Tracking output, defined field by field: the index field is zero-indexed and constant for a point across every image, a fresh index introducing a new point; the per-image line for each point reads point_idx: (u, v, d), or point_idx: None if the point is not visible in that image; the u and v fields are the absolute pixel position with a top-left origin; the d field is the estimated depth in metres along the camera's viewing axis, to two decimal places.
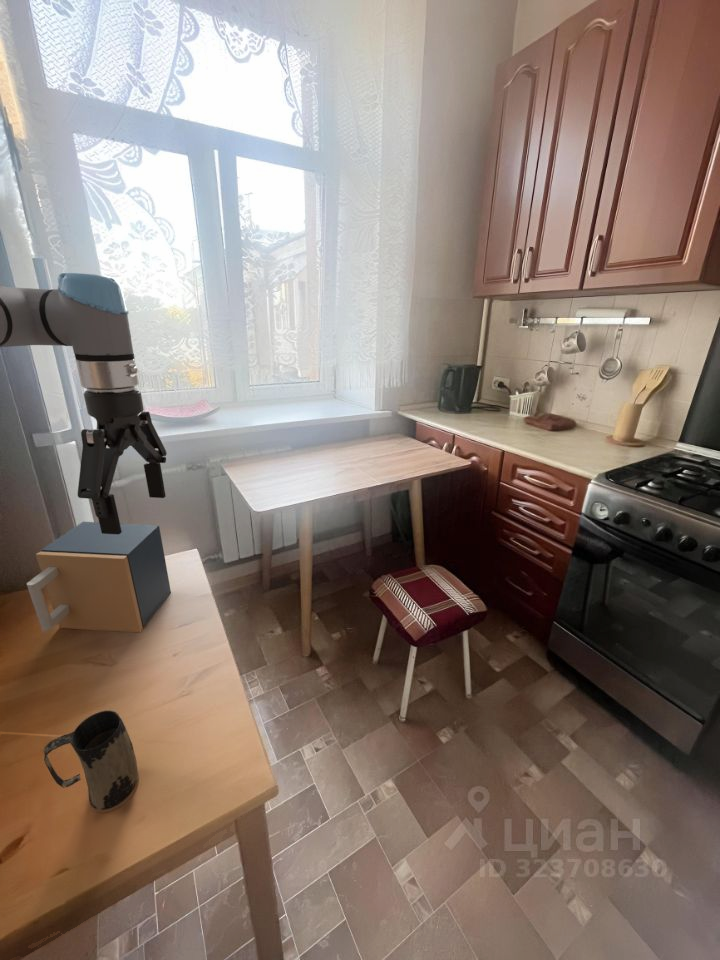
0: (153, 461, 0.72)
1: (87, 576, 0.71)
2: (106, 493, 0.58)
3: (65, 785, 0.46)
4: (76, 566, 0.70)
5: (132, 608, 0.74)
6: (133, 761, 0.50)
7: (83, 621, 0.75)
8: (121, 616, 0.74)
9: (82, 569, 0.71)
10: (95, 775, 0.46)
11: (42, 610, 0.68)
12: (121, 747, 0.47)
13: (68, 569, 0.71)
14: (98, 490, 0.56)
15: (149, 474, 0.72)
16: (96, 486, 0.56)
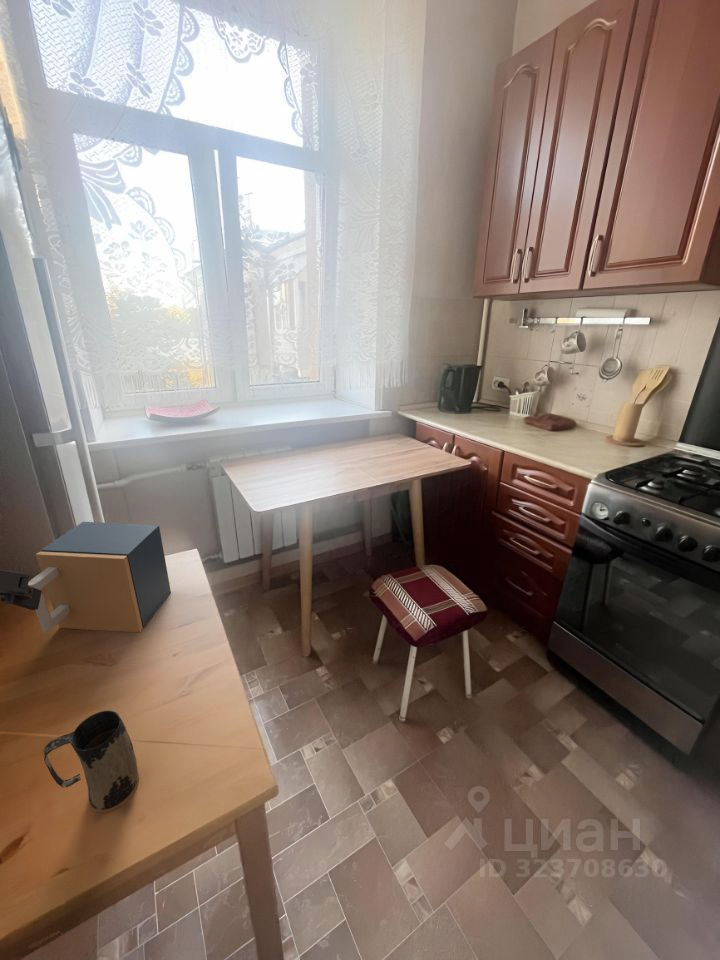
0: None
1: (87, 576, 0.71)
2: None
3: (65, 785, 0.46)
4: (76, 566, 0.70)
5: (132, 608, 0.74)
6: (133, 761, 0.50)
7: (83, 621, 0.75)
8: (121, 616, 0.74)
9: (82, 569, 0.71)
10: (95, 775, 0.46)
11: (42, 610, 0.68)
12: (121, 747, 0.47)
13: (68, 569, 0.71)
14: None
15: None
16: None
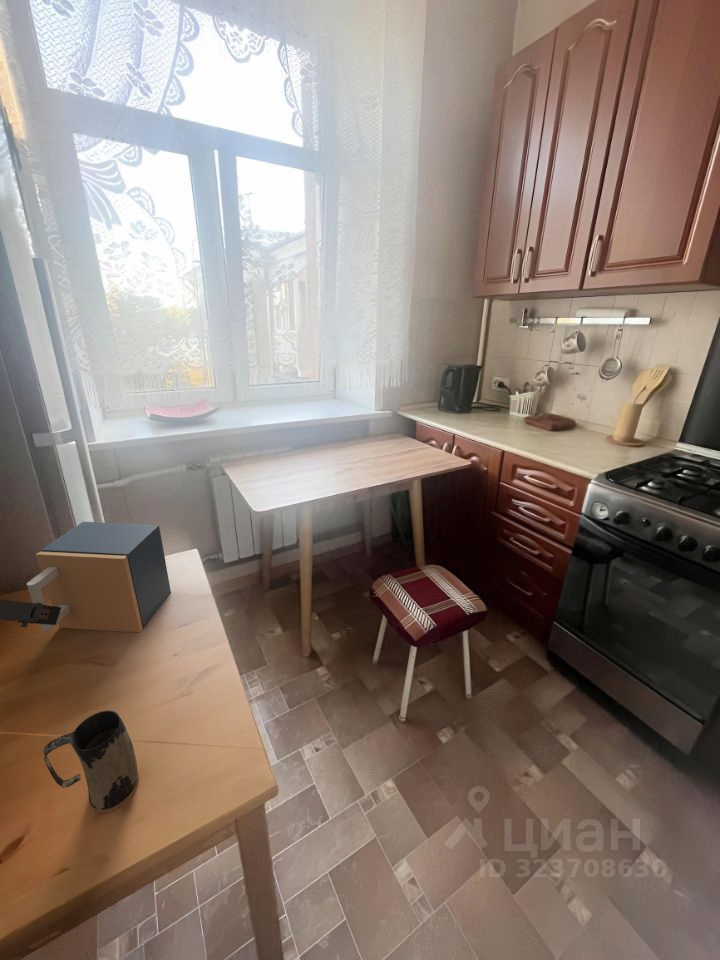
0: None
1: (87, 576, 0.71)
2: None
3: (65, 785, 0.46)
4: (76, 566, 0.70)
5: (132, 608, 0.74)
6: (133, 761, 0.50)
7: (83, 621, 0.75)
8: (121, 616, 0.74)
9: (82, 569, 0.71)
10: (95, 775, 0.46)
11: None
12: (121, 747, 0.47)
13: (68, 569, 0.71)
14: None
15: None
16: None
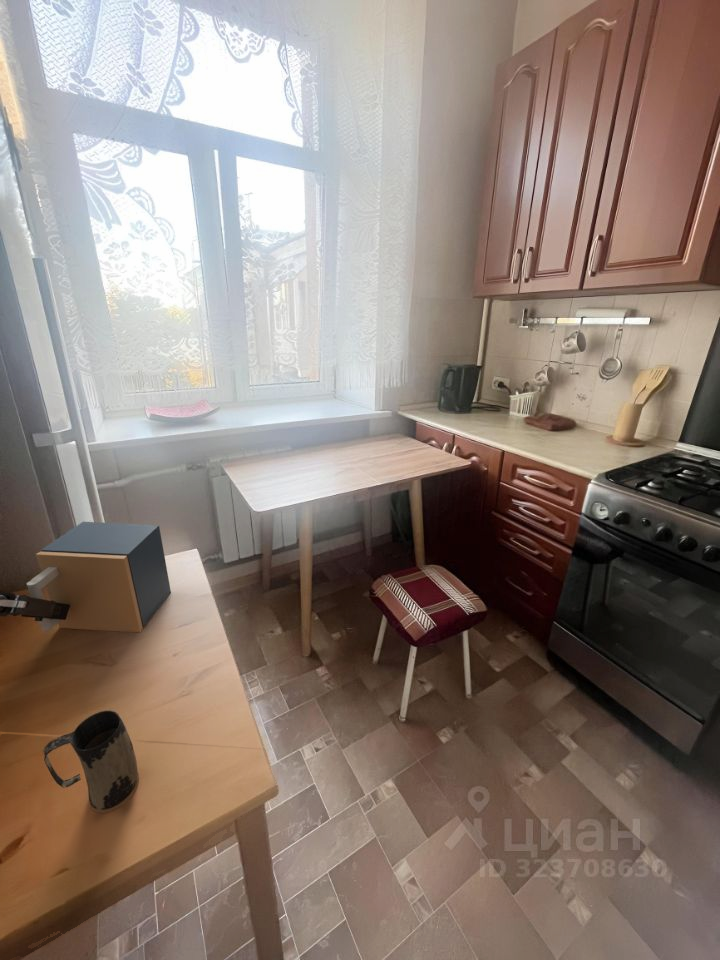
0: None
1: (87, 576, 0.71)
2: (13, 615, 0.66)
3: (65, 785, 0.46)
4: (76, 566, 0.70)
5: (132, 608, 0.74)
6: (133, 761, 0.50)
7: (83, 621, 0.75)
8: (121, 616, 0.74)
9: (82, 569, 0.71)
10: (95, 775, 0.46)
11: None
12: (121, 747, 0.47)
13: (68, 569, 0.71)
14: None
15: None
16: None
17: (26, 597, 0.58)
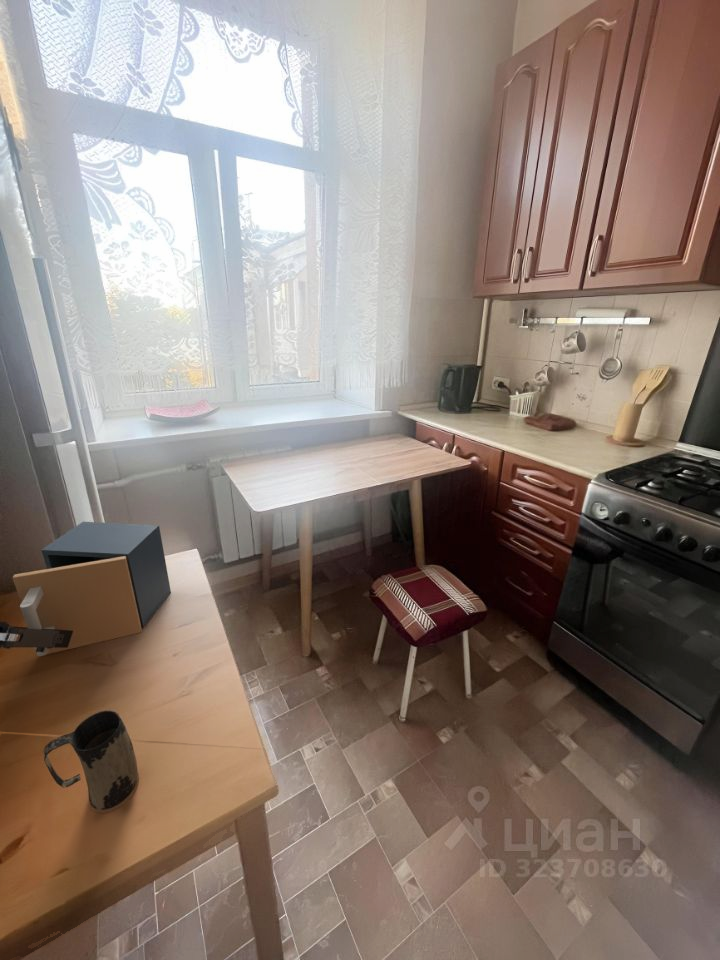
0: None
1: (79, 587, 0.68)
2: None
3: (65, 785, 0.46)
4: (67, 579, 0.67)
5: (133, 609, 0.73)
6: (133, 761, 0.50)
7: (72, 639, 0.71)
8: (120, 621, 0.73)
9: (74, 581, 0.67)
10: (95, 775, 0.46)
11: None
12: (121, 747, 0.47)
13: (55, 585, 0.67)
14: None
15: None
16: None
17: (17, 629, 0.52)
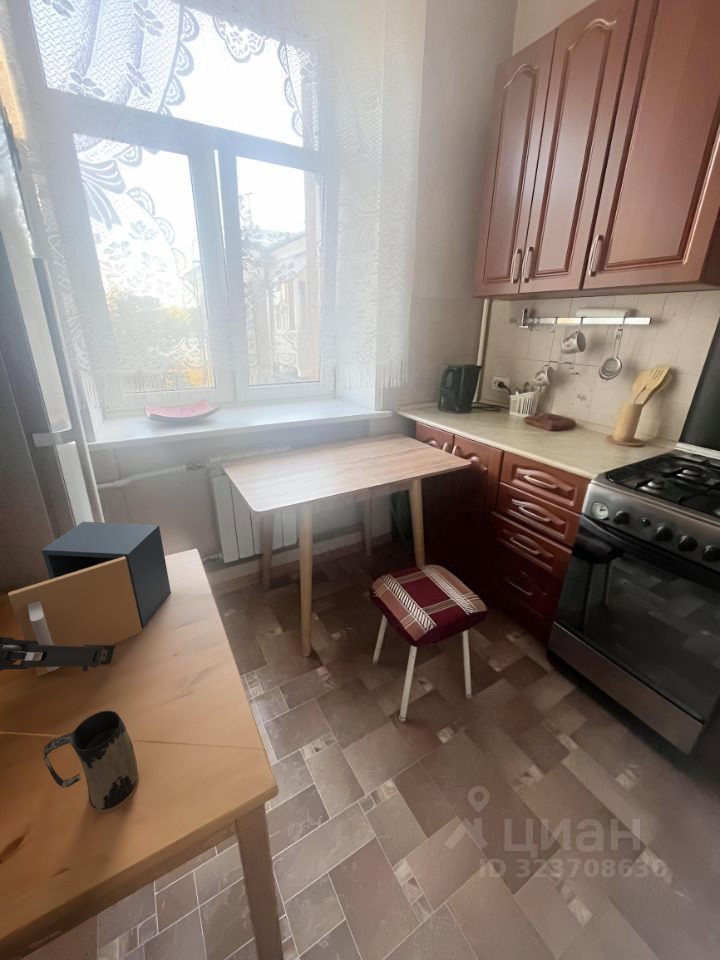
0: None
1: (80, 595, 0.66)
2: None
3: (65, 785, 0.46)
4: (67, 588, 0.65)
5: (134, 609, 0.73)
6: (133, 761, 0.50)
7: None
8: (122, 624, 0.73)
9: (75, 589, 0.65)
10: (95, 775, 0.46)
11: None
12: (121, 747, 0.47)
13: (55, 597, 0.64)
14: None
15: None
16: None
17: (32, 647, 0.47)
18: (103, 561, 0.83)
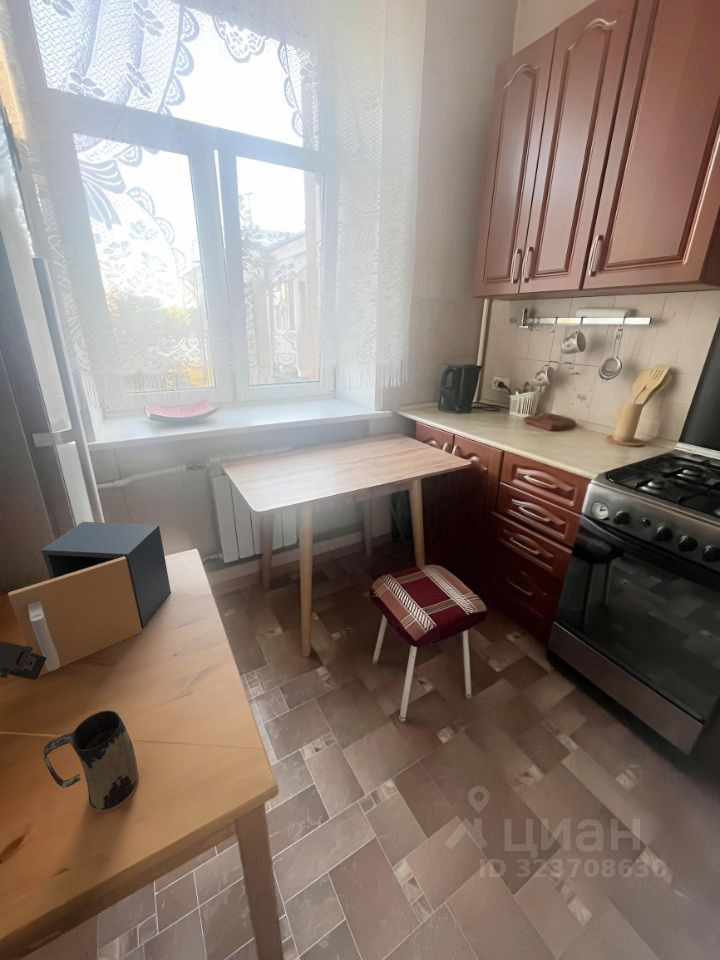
0: None
1: (80, 595, 0.66)
2: None
3: (65, 785, 0.46)
4: (67, 588, 0.65)
5: (134, 609, 0.73)
6: (133, 761, 0.50)
7: (73, 652, 0.68)
8: (122, 624, 0.73)
9: (75, 589, 0.65)
10: (95, 775, 0.46)
11: (51, 645, 0.61)
12: (121, 747, 0.47)
13: (55, 597, 0.64)
14: None
15: None
16: None
17: None
18: (103, 561, 0.83)
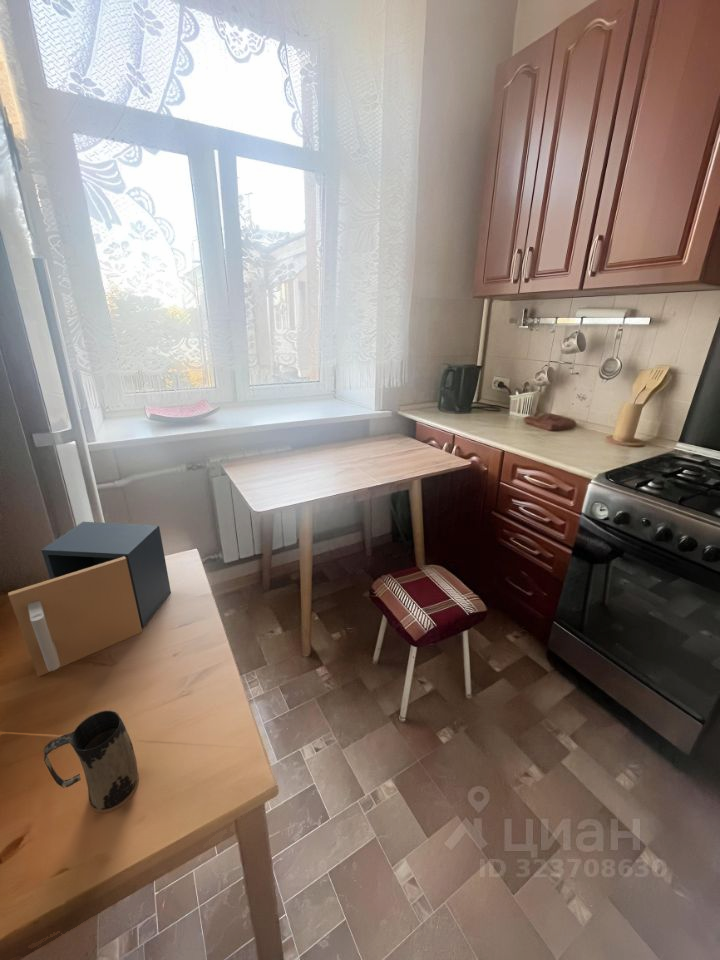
0: None
1: (80, 595, 0.66)
2: None
3: (65, 785, 0.46)
4: (67, 588, 0.65)
5: (134, 609, 0.73)
6: (133, 761, 0.50)
7: (73, 652, 0.68)
8: (122, 624, 0.73)
9: (75, 589, 0.65)
10: (95, 775, 0.46)
11: (51, 645, 0.61)
12: (121, 747, 0.47)
13: (55, 597, 0.64)
14: None
15: None
16: None
17: None
18: (103, 561, 0.83)
